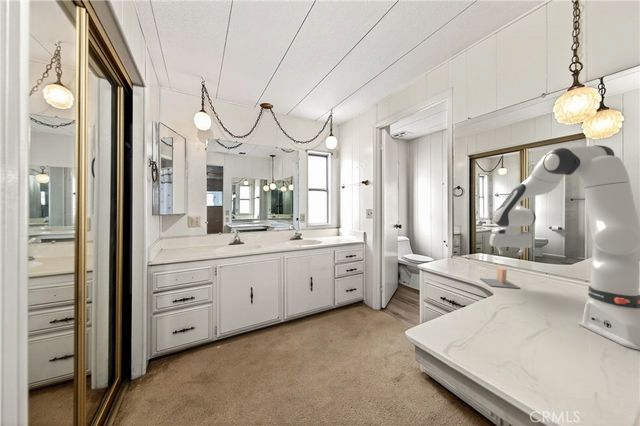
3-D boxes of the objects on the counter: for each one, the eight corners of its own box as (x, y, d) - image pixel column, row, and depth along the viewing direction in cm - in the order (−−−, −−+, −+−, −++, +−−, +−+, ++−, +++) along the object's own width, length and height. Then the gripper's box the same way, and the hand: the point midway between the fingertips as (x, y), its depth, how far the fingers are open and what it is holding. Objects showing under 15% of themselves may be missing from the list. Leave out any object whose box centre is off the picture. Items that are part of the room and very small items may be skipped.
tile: (506, 283, 136) (506, 269, 135) (502, 283, 136) (502, 269, 136) (500, 280, 141) (501, 267, 141) (496, 280, 142) (497, 267, 142)
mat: (520, 288, 129) (520, 287, 129) (490, 286, 132) (490, 285, 132) (506, 281, 142) (506, 280, 142) (480, 279, 146) (480, 278, 146)
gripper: (528, 230, 138) (527, 254, 138) (488, 229, 142) (487, 252, 142) (535, 231, 132) (534, 256, 132) (493, 230, 136) (493, 254, 136)
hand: (510, 254), depth 137 cm, fingers open, 8 cm apart
